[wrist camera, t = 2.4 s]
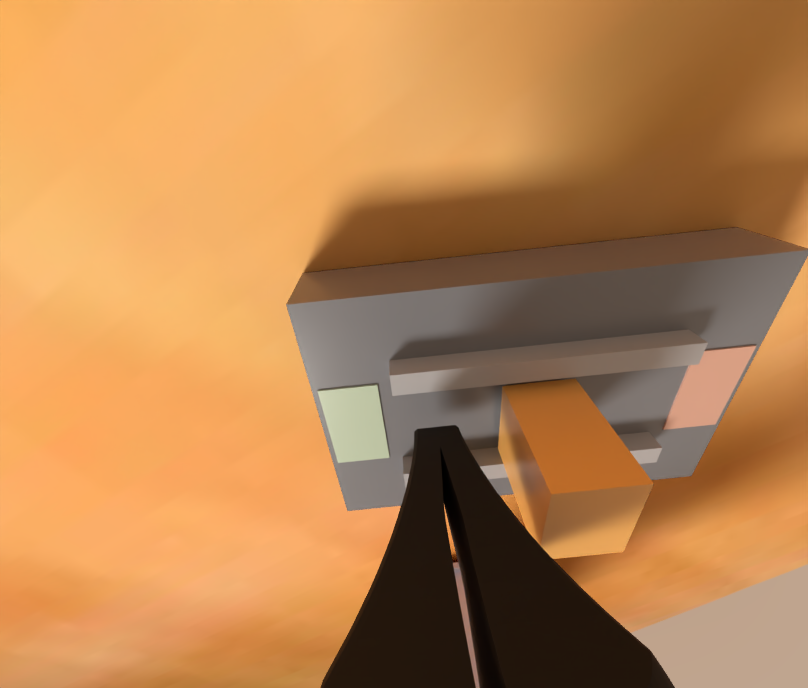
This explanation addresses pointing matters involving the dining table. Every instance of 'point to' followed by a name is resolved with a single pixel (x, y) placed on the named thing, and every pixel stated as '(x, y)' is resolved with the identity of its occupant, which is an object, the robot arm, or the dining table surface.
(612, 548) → the handle
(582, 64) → the dining table surface
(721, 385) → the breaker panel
